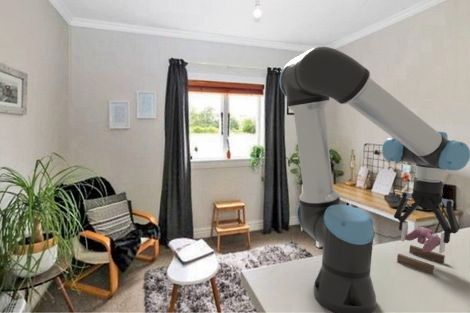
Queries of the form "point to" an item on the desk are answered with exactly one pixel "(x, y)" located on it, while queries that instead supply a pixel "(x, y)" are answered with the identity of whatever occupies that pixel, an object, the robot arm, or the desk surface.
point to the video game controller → (422, 235)
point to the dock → (420, 264)
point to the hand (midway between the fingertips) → (421, 245)
